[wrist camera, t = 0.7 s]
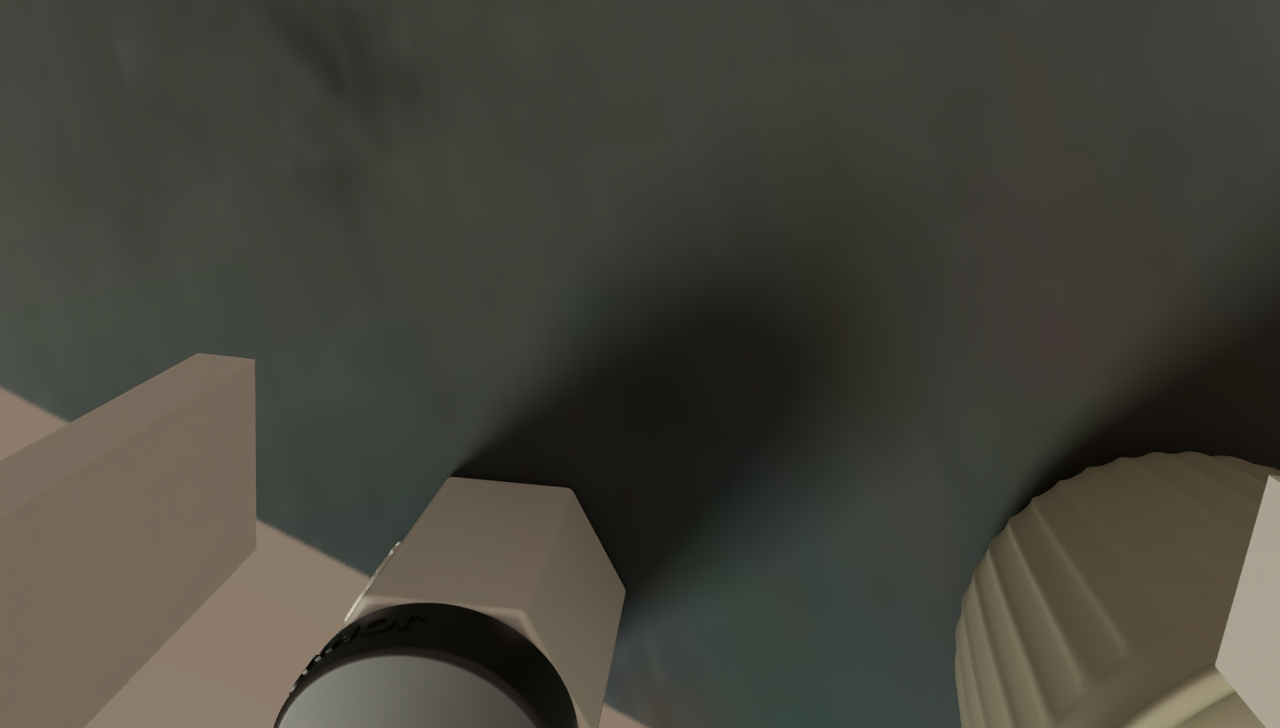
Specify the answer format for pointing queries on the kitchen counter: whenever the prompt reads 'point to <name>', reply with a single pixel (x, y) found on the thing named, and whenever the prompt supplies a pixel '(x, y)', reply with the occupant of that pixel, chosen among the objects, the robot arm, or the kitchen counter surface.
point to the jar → (474, 621)
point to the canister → (1112, 600)
